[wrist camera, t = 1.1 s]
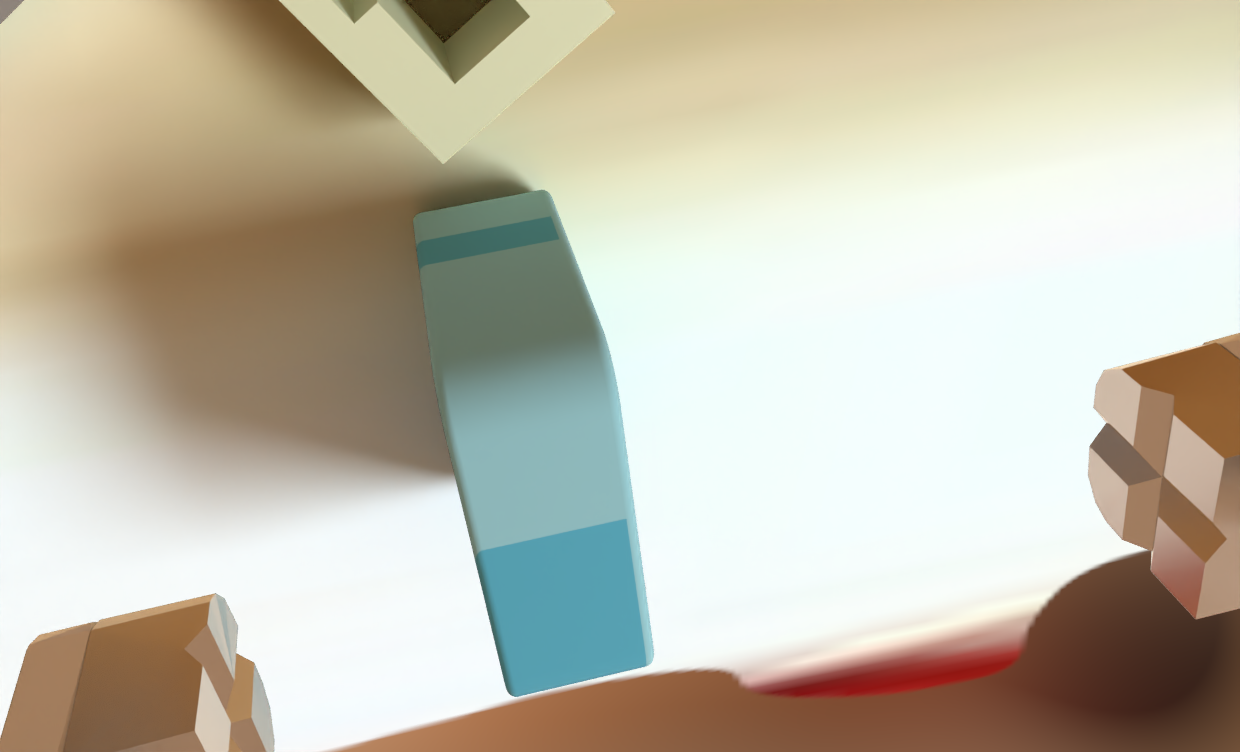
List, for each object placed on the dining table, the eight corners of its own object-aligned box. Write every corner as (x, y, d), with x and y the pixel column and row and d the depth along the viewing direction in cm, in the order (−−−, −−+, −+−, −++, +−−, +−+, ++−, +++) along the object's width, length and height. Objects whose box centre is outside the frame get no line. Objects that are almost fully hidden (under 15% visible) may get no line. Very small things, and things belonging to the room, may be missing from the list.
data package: (409, 197, 38) (434, 393, 28) (543, 172, 39) (615, 355, 29) (474, 483, 45) (513, 722, 35) (589, 458, 46) (659, 687, 36)
